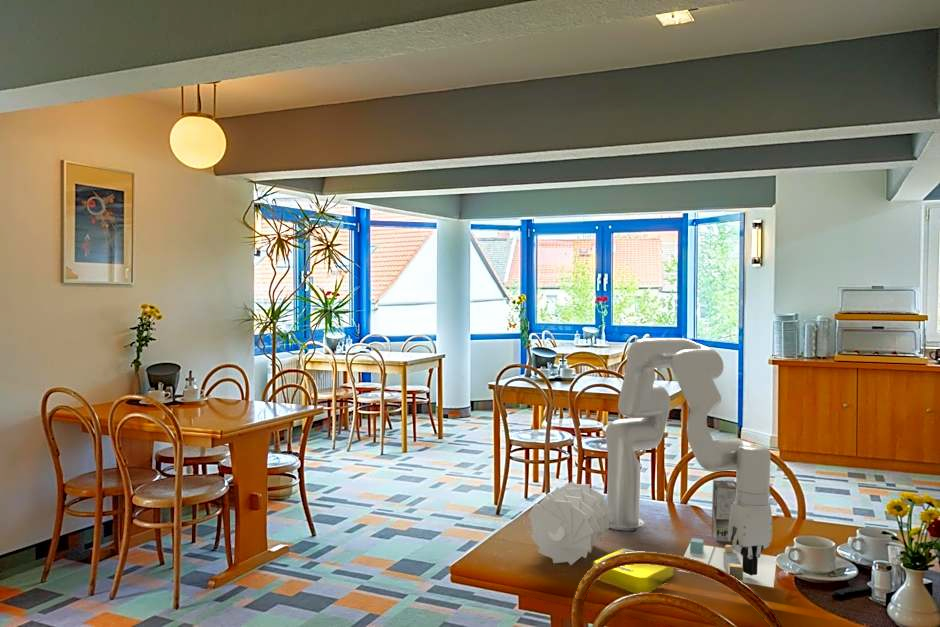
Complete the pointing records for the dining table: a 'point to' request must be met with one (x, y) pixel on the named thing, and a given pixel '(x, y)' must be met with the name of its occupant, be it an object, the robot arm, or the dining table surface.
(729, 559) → the bar
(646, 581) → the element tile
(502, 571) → the dining table surface
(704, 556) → the latch board
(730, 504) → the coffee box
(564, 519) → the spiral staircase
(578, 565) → the dining table surface
